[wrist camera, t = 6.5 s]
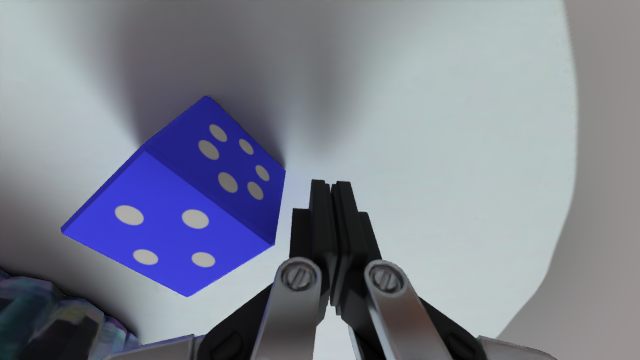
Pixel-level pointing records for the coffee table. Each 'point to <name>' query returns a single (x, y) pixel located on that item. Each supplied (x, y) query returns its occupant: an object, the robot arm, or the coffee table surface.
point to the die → (186, 203)
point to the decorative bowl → (54, 324)
